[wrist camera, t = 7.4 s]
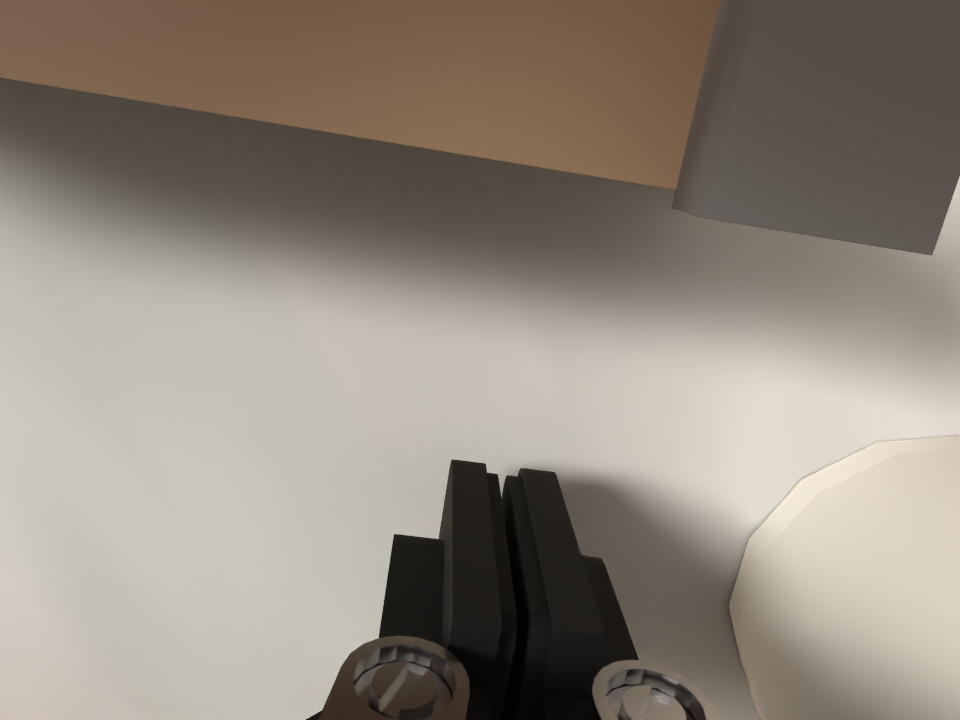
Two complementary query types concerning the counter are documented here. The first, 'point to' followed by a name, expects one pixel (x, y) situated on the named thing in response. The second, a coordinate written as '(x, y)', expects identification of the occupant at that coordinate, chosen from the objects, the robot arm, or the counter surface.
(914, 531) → the foam cup
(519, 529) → the robot arm
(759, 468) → the counter surface
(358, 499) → the counter surface
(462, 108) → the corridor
